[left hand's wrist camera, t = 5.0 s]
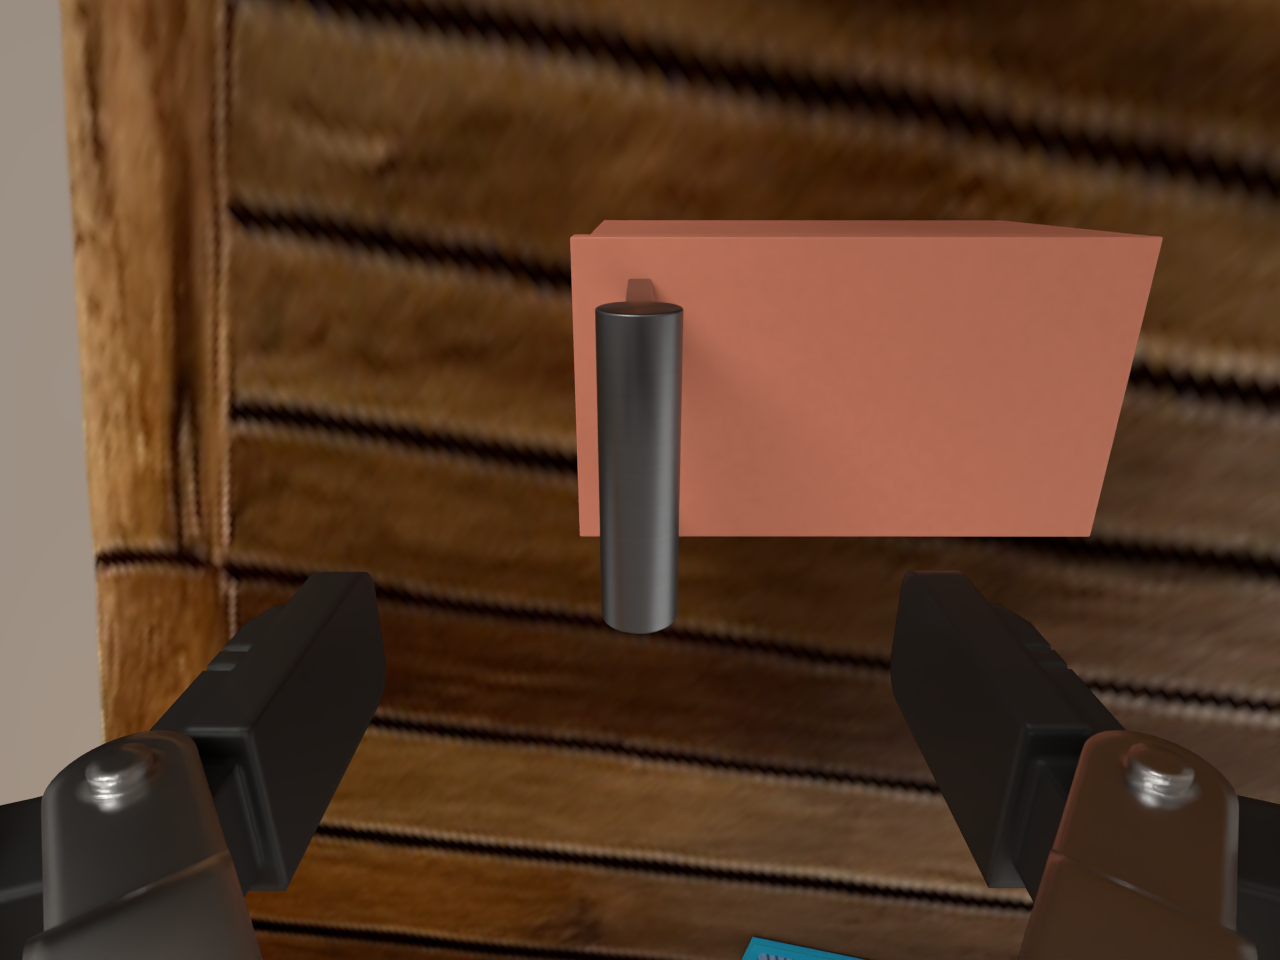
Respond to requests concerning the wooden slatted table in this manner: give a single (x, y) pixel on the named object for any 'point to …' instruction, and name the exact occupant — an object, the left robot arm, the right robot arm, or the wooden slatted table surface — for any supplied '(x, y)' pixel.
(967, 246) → the lid
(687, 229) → the chest
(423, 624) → the wooden slatted table surface
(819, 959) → the model building
